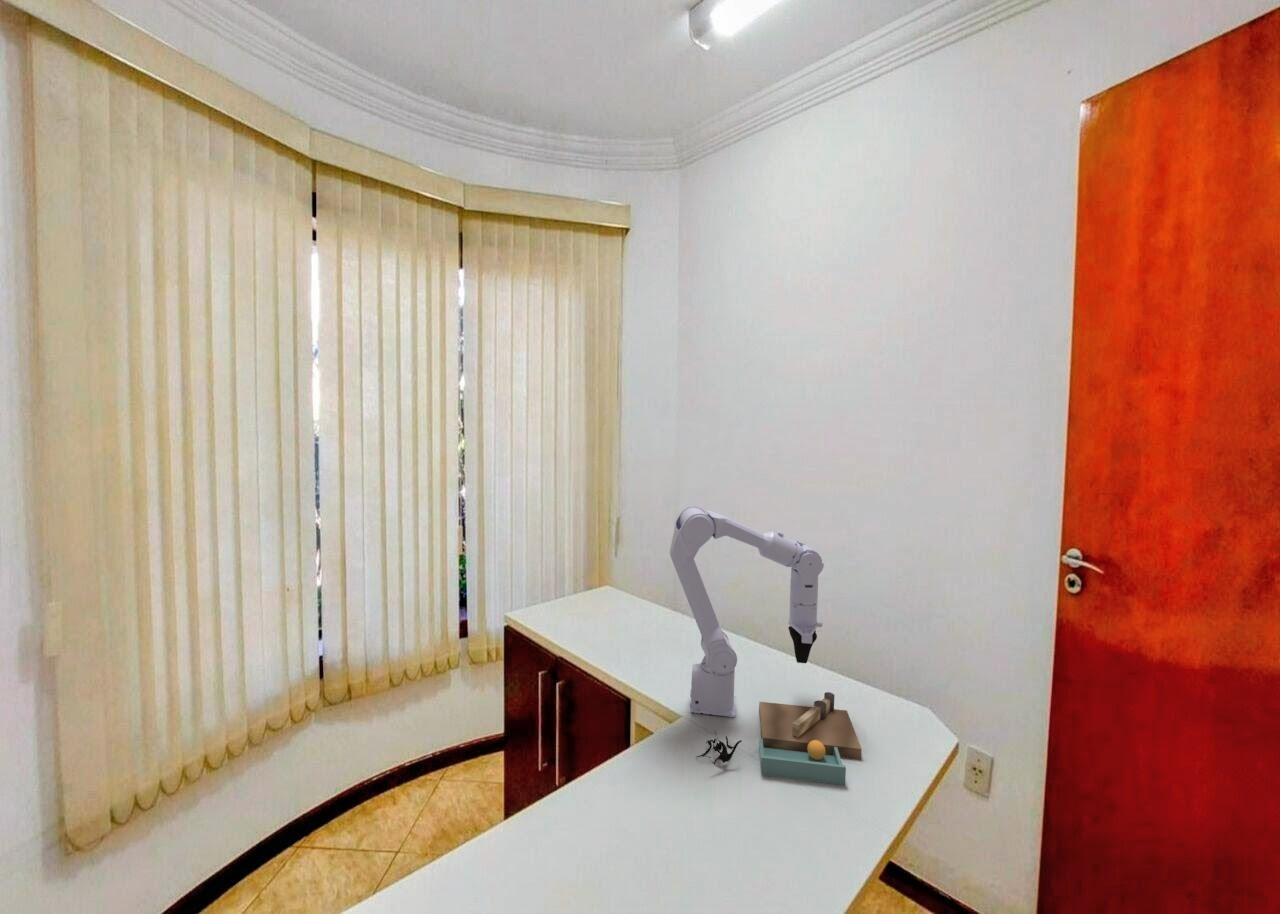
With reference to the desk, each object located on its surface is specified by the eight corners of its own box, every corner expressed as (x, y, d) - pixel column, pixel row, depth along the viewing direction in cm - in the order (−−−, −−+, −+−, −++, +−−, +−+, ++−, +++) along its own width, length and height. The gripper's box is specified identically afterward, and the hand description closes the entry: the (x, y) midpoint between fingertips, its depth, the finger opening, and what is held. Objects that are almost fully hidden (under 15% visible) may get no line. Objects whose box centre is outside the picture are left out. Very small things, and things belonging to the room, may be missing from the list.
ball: (802, 739, 99) (817, 734, 100) (805, 756, 99) (820, 751, 100) (812, 748, 96) (827, 743, 96) (815, 765, 96) (830, 760, 97)
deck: (762, 747, 101) (762, 737, 101) (759, 710, 114) (759, 701, 114) (861, 759, 98) (861, 748, 98) (846, 719, 111) (846, 710, 111)
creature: (690, 757, 100) (710, 774, 93) (687, 727, 101) (708, 742, 93) (726, 747, 103) (748, 763, 96) (723, 719, 104) (745, 732, 96)
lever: (800, 738, 100) (801, 723, 100) (789, 733, 102) (789, 718, 102) (836, 708, 111) (837, 695, 111) (825, 704, 113) (826, 690, 112)
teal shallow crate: (761, 774, 94) (761, 757, 93) (759, 748, 101) (759, 732, 101) (845, 785, 91) (845, 767, 91) (836, 757, 99) (837, 740, 98)
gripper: (828, 615, 107) (826, 679, 108) (817, 591, 121) (815, 648, 122) (792, 612, 108) (790, 676, 109) (785, 589, 122) (783, 646, 123)
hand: (801, 661), depth 116 cm, fingers closed
